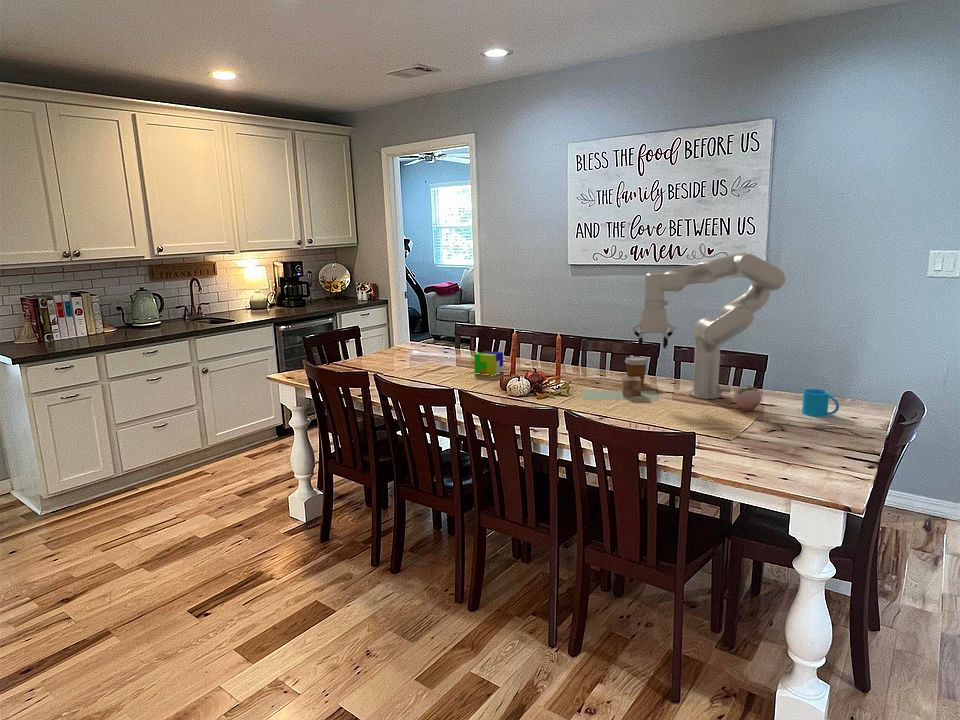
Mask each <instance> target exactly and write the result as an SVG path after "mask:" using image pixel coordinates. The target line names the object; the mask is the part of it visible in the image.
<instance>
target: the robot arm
mask: <svg viewBox="0 0 960 720" xmlns="http://www.w3.org/2000/svg"><path fill="white" fill-rule="evenodd" d="M739 276H742V277H745V278H746V279H748V280H750V281H751V282H750V285H749V288H748V290H746V292H744V293H743V294H742V295H741V296H739V297H737V298H736V299H734V300H732V301H731V302H729V303H727V304H726V305H724V306H723V307H722V308H721V309H720V311H719V314H718V316H719V317H718V318H717V319H716V318H713V317H708V316H707V317H702V318H700V319H699V320H697V322H696V323H695V325H694V328H693V340H694V358H693V359H694V361H693V381H692V383H693V385H692V389H691V390H689V391H688V395H689V396H690V397H692V398H694V399H695V398H696V399H703V400H715V399H719V398H721V397H722V396H723V395H722V394H723V392H725V393H731V389H732V388H731V387H729V386H723V385H720V384H719V377H720V376H719V375H720V358H721V345H723V344H725V343H727V342H729V341H731V340H732V339H733V338H735V337H737V336H738V335H740V334H741V333H743V332H744V331H746V330H748V328H749V327H750V326H751V325H752V323H753V321H754V317H755V316H754V314H755V313H757V312H758V311H759V310H761V309H762V308H763V307H764V306H765V305H766V304H767V303H768V301H769V298H770V296H771V293H772V292H773V291H778V290H780V289H781V288H782V287H783V286H784V285H785V283H786V275H785V273H784V272H783V271H782V269H780V268H778V267H777V266H775V265H773V264H771V263H769V262H768V261H765V260H763V259H761V258H760V257H758V256H756V255H754V254H751V253H743V252H740V253H735V254H731V255H727V256H724V257H723V256H722V257H720V258H716V259H713V260H707V261H704V262H699V263H696V264H691V265H686V266H682V267H679V268H675V269H669V270H667V271H666V272H664V273H662V272H649V273H646V275H645V277H644V300H643V301H644V305H643V307H642V308H641V312H640V320H639V322H638V323H636V324H635V325H633V326H631V330H632V332H633V334H634V335H635V336H636V337H637V338H638V346H639V348H640V349H644V348H643V345H644V344H643V340H644V337H643V336H644V335H645V334H662V335H663V338H662V339H663V340H662V345H663V346H662V347H663V349H666V348H667V346H669V345H668V343H669V342H668V341H669V337H671V336H672V335H673V333H674V332H675V331H676V327H675V326H674V325H672V324H671V323H669V322H668V321H667V320H668V317H667V308H666V307H665V306H667V305H668V304H669V302H668V301H666V300H665V292H673V293H679V292H682V291H683V290H684V289H685V288H686V286H688V285H693V284H694V285H695V284H696V285H697V284H712V283H713V284H714V283H716V282H720V281H723V280H728V279H732V278H736V277H739ZM771 291H772V292H771ZM638 328H639V330H640V332H638V331H637V329H638ZM668 328H669V329H670V330H669V331H668Z"/></svg>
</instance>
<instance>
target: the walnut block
mask: <svg viewBox="0 0 960 720" xmlns="http://www.w3.org/2000/svg"><path fill="white" fill-rule="evenodd" d="M621 391H622V395H623V397H626V398H641V391H642V386H641V379H640V377H627V376H622V377H621Z"/></svg>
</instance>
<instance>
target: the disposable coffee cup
mask: <svg viewBox="0 0 960 720" xmlns="http://www.w3.org/2000/svg"><path fill="white" fill-rule="evenodd" d="M624 362H625V366H626V368H625V369H626V375H627V376H626V377H640V379H641V387H642V386H644V381H645V376H646V369H647V365H648V362H649V361H648V360H647V357H644V356H627V357H626V358H625V360H624Z"/></svg>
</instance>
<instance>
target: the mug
mask: <svg viewBox="0 0 960 720" xmlns="http://www.w3.org/2000/svg"><path fill="white" fill-rule="evenodd" d="M802 396H803V397H802V406H801V407H802V408H801V413H802V414H803V415H804V416H810V417H817V418H818V417H819V418H822V417H826V416H829V415H830V416H831V415H833V414H836V413H837V412H838V411H839V409H840V403H839V402H838V400H837V399H836V398H835V397H833V396H831V395H830V392H829V391H827V390H824V389H818V388H817V389H816V388H808V389H804V390H803V394H802ZM830 399H831V400H832V401H833V402H834V404H835V409H834V410H832V411H830V412H828V411H829V402H830V401H829V400H830Z"/></svg>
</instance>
